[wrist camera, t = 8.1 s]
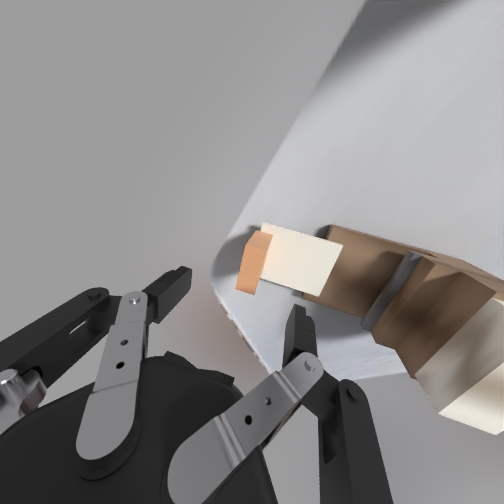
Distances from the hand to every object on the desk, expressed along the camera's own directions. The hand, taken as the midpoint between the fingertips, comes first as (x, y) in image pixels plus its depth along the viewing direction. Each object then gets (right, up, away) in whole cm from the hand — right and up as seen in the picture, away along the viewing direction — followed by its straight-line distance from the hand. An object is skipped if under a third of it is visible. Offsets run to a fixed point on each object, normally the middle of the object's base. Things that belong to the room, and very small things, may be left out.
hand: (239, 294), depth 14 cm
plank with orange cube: (+6, +2, +8) cm, 10 cm away
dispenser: (+17, 0, +8) cm, 19 cm away
